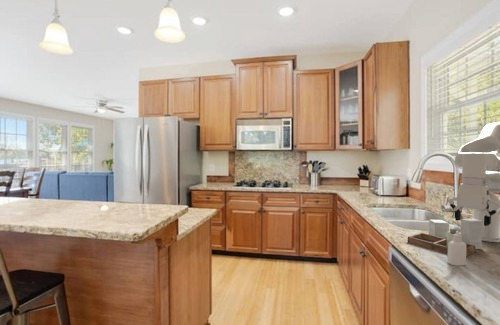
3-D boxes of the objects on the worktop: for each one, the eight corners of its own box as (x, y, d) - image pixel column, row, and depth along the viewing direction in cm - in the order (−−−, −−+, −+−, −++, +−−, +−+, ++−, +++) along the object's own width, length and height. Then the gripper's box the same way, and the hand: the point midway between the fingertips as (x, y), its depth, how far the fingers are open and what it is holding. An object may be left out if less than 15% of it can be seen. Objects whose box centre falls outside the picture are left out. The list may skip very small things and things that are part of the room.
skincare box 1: (428, 233, 130) (428, 219, 129) (441, 234, 129) (442, 219, 128) (434, 237, 124) (435, 222, 123) (449, 238, 123) (449, 223, 122)
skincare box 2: (471, 245, 113) (472, 218, 113) (481, 249, 109) (482, 220, 109) (459, 246, 112) (460, 218, 112) (469, 249, 108) (470, 221, 108)
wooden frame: (421, 237, 123) (421, 232, 123) (475, 252, 106) (475, 246, 106) (407, 242, 117) (407, 236, 117) (462, 258, 100) (462, 251, 100)
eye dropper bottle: (445, 260, 98) (446, 228, 97) (464, 263, 95) (465, 230, 95) (448, 264, 94) (449, 231, 93) (468, 267, 91) (469, 234, 91)
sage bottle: (449, 247, 110) (450, 227, 110) (462, 251, 107) (462, 230, 106) (444, 249, 108) (445, 228, 108) (457, 253, 104) (457, 231, 104)
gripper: (504, 183, 103) (502, 226, 104) (453, 180, 118) (451, 217, 119) (497, 184, 100) (495, 229, 100) (445, 180, 114) (443, 219, 115)
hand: (471, 222), depth 109 cm, fingers open, 9 cm apart
